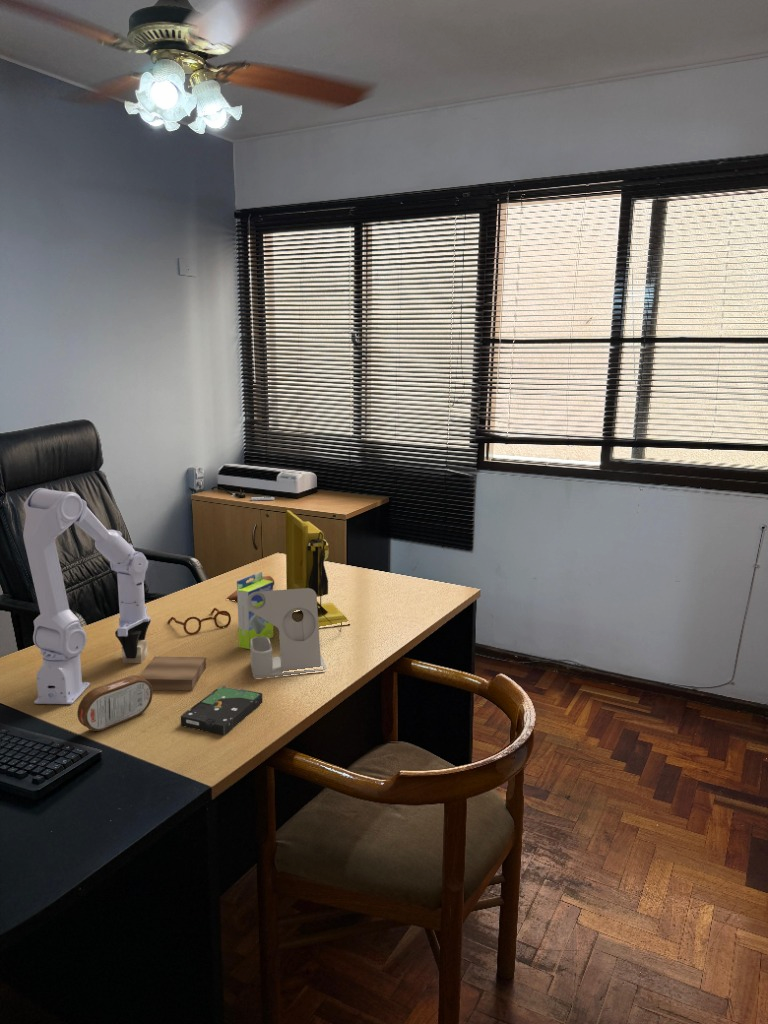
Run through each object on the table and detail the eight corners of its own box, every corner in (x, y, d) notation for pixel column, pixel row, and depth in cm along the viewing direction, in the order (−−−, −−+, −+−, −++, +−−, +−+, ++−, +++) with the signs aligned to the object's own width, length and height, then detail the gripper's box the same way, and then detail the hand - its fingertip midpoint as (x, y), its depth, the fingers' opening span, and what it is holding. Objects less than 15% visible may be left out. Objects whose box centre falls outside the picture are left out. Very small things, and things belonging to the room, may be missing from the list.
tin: (147, 706, 147) (145, 668, 145) (156, 710, 145) (154, 672, 143) (77, 734, 135) (74, 693, 133) (86, 739, 133) (83, 698, 131)
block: (141, 663, 167) (140, 647, 166) (122, 662, 167) (121, 647, 166) (147, 655, 171) (146, 640, 171) (129, 655, 171) (128, 639, 171)
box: (249, 650, 176) (248, 584, 172) (236, 647, 177) (234, 581, 174) (275, 636, 185) (274, 573, 181) (262, 633, 187) (261, 570, 183)
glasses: (185, 637, 184) (184, 619, 183) (167, 623, 194) (166, 605, 193) (231, 627, 191) (231, 610, 190) (212, 613, 202) (212, 597, 201)
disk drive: (225, 739, 135) (263, 704, 149) (225, 725, 135) (263, 692, 148) (180, 728, 139) (221, 695, 152) (179, 716, 138) (220, 683, 152)
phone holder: (252, 679, 159) (250, 604, 156) (248, 661, 169) (246, 590, 165) (327, 672, 164) (327, 598, 160) (319, 655, 173) (319, 585, 170)
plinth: (192, 690, 154) (192, 679, 153) (137, 689, 154) (136, 678, 153) (206, 667, 165) (205, 657, 165) (154, 666, 165) (154, 656, 165)
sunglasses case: (250, 583, 228) (259, 567, 226) (268, 595, 228) (277, 579, 225) (223, 600, 211) (233, 583, 209) (242, 614, 211) (252, 597, 208)
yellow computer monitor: (362, 637, 185) (364, 526, 179) (311, 644, 180) (311, 530, 174) (327, 600, 214) (327, 503, 207) (282, 605, 208) (281, 506, 202)
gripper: (138, 610, 159) (141, 666, 162) (158, 590, 173) (161, 642, 176) (106, 609, 159) (110, 666, 162) (129, 589, 173) (132, 641, 176)
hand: (134, 653), depth 169 cm, fingers closed on block, 4 cm apart
